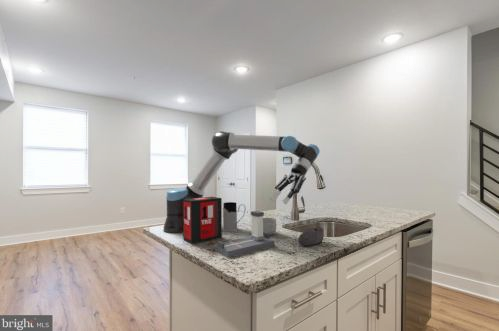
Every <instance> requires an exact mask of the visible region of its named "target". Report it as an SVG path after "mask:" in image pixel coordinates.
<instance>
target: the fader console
mask: <svg viewBox="0 0 499 331" xmlns="http://www.w3.org/2000/svg"><path fill="white" fill-rule="evenodd" d="M263 235H264V240H259V241H256V240H254V239H251V235H250V236H246V237H242V238H237V239H229V240H226V241H220V240H219V241H217V243H214V244H213V250H214V251H215V252H216V253H219V254H221V255H222V256H224V257H226V258H233V257H237V256H241V255H244V254H248V253H253V252H257V251H261V250H266V249H269V248H272V247H275V245H276V244H275V240H273V239H270V235H269V234H267V233H264V232H263Z"/></svg>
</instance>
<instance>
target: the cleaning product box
mask: <svg viewBox="0 0 499 331" xmlns="http://www.w3.org/2000/svg"><path fill="white" fill-rule="evenodd" d="M222 201H223V200H222V197H218V196H217V197H215V196H205V197H203V198H192V199H183V232H182V233H183V234H182V235H183V238H182V240H183V241H184V242H186V243H189V244H191V245H196V244H200V243H205V242H208V241H213V240H217V239H222V238H223V235H222V234H223V233H222V232H223V223H222V222H223V208H222Z"/></svg>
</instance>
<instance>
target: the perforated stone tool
mask: <svg viewBox="0 0 499 331" xmlns="http://www.w3.org/2000/svg"><path fill="white" fill-rule="evenodd" d="M323 240H324V229H323V228H322V227H314V228H311V229H308V230H305V231H304V232H302V233H300V235H299V236H298V240H297V241H298V242H297V243H298V244H299V245H300V246H303V247H308V246H315V245H318V244H321V243H323Z"/></svg>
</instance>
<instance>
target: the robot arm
mask: <svg viewBox="0 0 499 331" xmlns="http://www.w3.org/2000/svg"><path fill="white" fill-rule="evenodd" d="M211 145H212V153H211V154H210V156H209V157H208V159H207V160H206V162H205V163H204V165H203V166H202V168H201V169H200V171H199V172H198V173H197V175H196V176H195V178H194V179H193V181H192V182H189V183H188V184H187V186H186V187H176V188H171V189H169V190H167V192H166V218H165V221H164V225H163V232H165V233H172V234H176V233H183V199H192V198H204V197H203V196H204V195H205V190H206V188H207V186H208V185H209V184H210V182H211V181H212V179H213V178H214V176H215V175H216V173H217V172H218V171H219V169H220V168H221V166H222V165H223V164H224V162H225V160H227V161H228V160H230V158H231V157H232V155H233V154H235V153H236V152H238V150H248V151H249V150H250V151H251V150H253V151H268V152H269V151H271V152H272V151H273V152H287V153H290V154H292V155H294V156H295V157H297V158H298V159H297V160H296V162H295V163H294V165H293V167H292V168H291V169H290V170H291V172H290V173H289V174H288V175H287V174H286V173H285V174H284V175H283V177H282V178H281V179H280V181H278V182H277V184H276V185H275V186H274V189H275V191H274V193H273V195H272V196H271V197H270V200H271V202H272V203H276V201H277V199H278V198H279V196H280V195H281V192H282V191H283V190H284V189H285V188H286V187H287V186H289V185H291V188H289V190H288V192H287V193H286V194H285V196H284V197H283V198H282V200H281V201H282V203H283V204H284V205H287V204H288V202H289V201H290V199H292V198H293V196H294V195H295V194H298V193H300V191H301V188H302V186H303V184H304V183H305V181H306V180H307V177H306V174H307V173H308V171H309V170H310V168H311V167H312V165H313V164H314V163H315V162H316V159H317V158H318V156H319V155H320V152H321V150H320V148H319V147H318V146H317V145H316V144H312V143H310V144H308V145H306V144H303V143H302V142H301V141H299V140H297V138H296V137H295V136H292V135H287V136H277V135H258V134H257V135H253V134H250V135H249V134H235V133H234V132H227V131H218V132H216V133H215V134H214V135H213V136H212V139H211Z"/></svg>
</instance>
